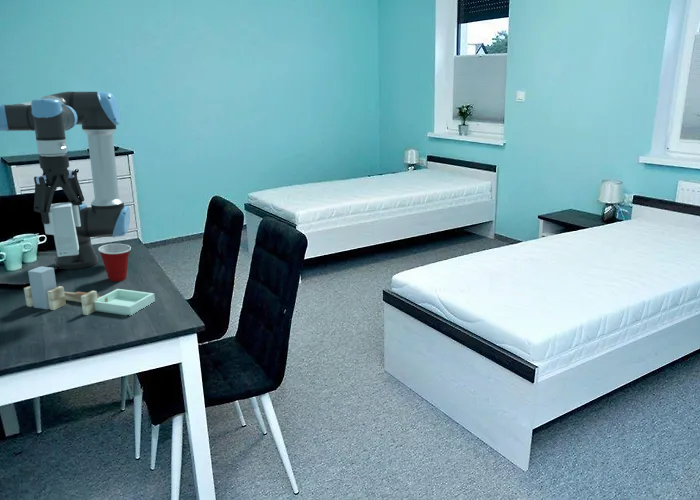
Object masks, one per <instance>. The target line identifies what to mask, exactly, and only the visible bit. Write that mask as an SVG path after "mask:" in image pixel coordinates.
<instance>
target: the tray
mask: <svg viewBox="0 0 700 500" xmlns="http://www.w3.org/2000/svg"><path fill="white" fill-rule="evenodd" d="M106 297H107V298H108V302H105V298H106ZM153 302H155V303H156V296H155V292H154V293H152V292H145V291H139V290H131V289H122V288H115V289H114V290H112V291H111V292H108V293H106V294H104V295H101V297H100V298H98V301H95V302H94V304H95V311H94V312H101V313H107V314H114V315H121V316H127V315H129V316H128V317H132V316H134V315H135V313H136V312H137V313H138V311H139V310H141V309H143V308H144V309H146V308H147V307H146V306H148V305H149V306H151V305H152V304H151V303H153ZM150 304H151V305H150ZM153 304H154V303H153ZM149 306H148V307H149ZM145 307H146V308H145ZM144 309H143V310H144ZM141 311H142V310H141ZM139 312H140V311H139ZM137 313H136V314H137ZM133 314H134V315H133ZM131 315H132V316H131Z"/></svg>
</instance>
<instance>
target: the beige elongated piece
mask: <svg viewBox="0 0 700 500" xmlns="http://www.w3.org/2000/svg"><path fill="white" fill-rule="evenodd" d="M23 292H24V297H25V298H24V299H25V303H26V307H30V308H32V307H34V305H33V299H32V293H31V287H30V285H29V286H26V287H23ZM47 294H48V300H49V307H50V308H49V310H51V311H55V310H57V309H59V308H61V307H64V306H66V305H67V301H68V302H69V301H70V302H76V303H81V308H82V315H84V316H88V315H91V314H92V313H94V312H96V311H95V304H94V302H95V301H98V298H100V297H102V295H101V296H100V294H99V293H98V292H97V290H91V291H88V292H85V291H84V292H83V291H76V292H72V291H71V292H70V291H65V288H64V286H61V285H58V286H57V288H54V289H52V290H50V291H47ZM105 302H108V298H107V297H106V298H105Z"/></svg>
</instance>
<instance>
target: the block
mask: <svg viewBox="0 0 700 500" xmlns="http://www.w3.org/2000/svg"><path fill="white" fill-rule="evenodd" d="M27 272H28V273H27V274H28V278H29V279H28V280H29V284H30V285H29V286H30V287H31V293H32V299H33V308H35V309H43V310H49V309H50V307H49V300H48V294H47V291H50V290H52V289H54V288H57V287H58V286H57V281H56V280H57V279H56V274H55V268H54V267H50V266H49V267H48V266H38V267H35V268H33V269H30V270H28V271H27Z"/></svg>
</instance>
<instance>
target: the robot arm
mask: <svg viewBox="0 0 700 500" xmlns="http://www.w3.org/2000/svg"><path fill="white" fill-rule="evenodd" d="M121 121H122V120H121V111H120V107H119V104H118V101H117V99H116V97H115V96H114V94H113V93H111V92H108V91H62V92H58V93H53V94H47V95H44V96H42V97H41V98H35V99H32V100H31V101H26V102H21V103H14V104H5V103H4V104H3V103H2V104H0V131H1V132H2V131H4V132H18V131H19V132H22V131H23V132H24V131H31V132H34V134H35V140H36V148H37V153H38V154H39V156H38V162H39V167H40V169H42V174H41V175H40V176H34V177H33V181H34V185H35V186H34V196H33V197H34V200H33V211H34V212H35V213H36V212H37V213H40V216H41V222H42V224H43V227H44V232H45V235H51V236H54V234H55V230H54V223H53V216H52V212H50V207H51V204H53V199H54V198H53V197H54V195H55V192H56V191H57V189H58V188H61V189H62V191H63V193H64V194H65V195H66V197H67V199H68V200H69V201H68V202H71V203H72V210H73V216H74V221H75V227H76V233H77V238H78V244H79V250H78V253H79V254H78V255H72V256H61V257H58V256H57V252H56V255H55V258H54V266H55V265H56V266H57V267H59V268H58V269H61V270H78V269H84V268H89V267H92V266H94V265H96V264H97V263H98V262H99V256H98V254H97V253H96V251H95V249H94V247H93V244H92V240H91V238H116V237H117V238H118V237H124V236H125V235H126V234H127V233H128V231H129V228H130V223H131V211H130V207H129V206H127V205H125V202H124V200H123V199H122V198H120V195H119V194H120V193H119V186H118V185H119V184H118V175H117V164H116V154H115V145H114V135H113V134H114V133H115V132H116V130H117V126H118V125H120V124H121ZM76 125H78V126H79V125H81V130H82V131H83V132H84V133H85V134H86V136H87V144H88V151H89V161H90V169H91V178H92V185H93V194H94V199H93V200H92V201H91V203H90V206H88V205H87V204H86V203H85V202H84V201H85V198H84V194H83V191H82V188H81V185H80V182H79V179H78V172H77V170H70V169H68V168H70V163H69V162H70V161H69V160H70V159H69V155H67V153H68V148H67V139H66V132H65V131H69V130H71V129H72V128H75V126H76ZM56 266H55V267H56ZM57 267H56V268H57Z"/></svg>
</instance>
